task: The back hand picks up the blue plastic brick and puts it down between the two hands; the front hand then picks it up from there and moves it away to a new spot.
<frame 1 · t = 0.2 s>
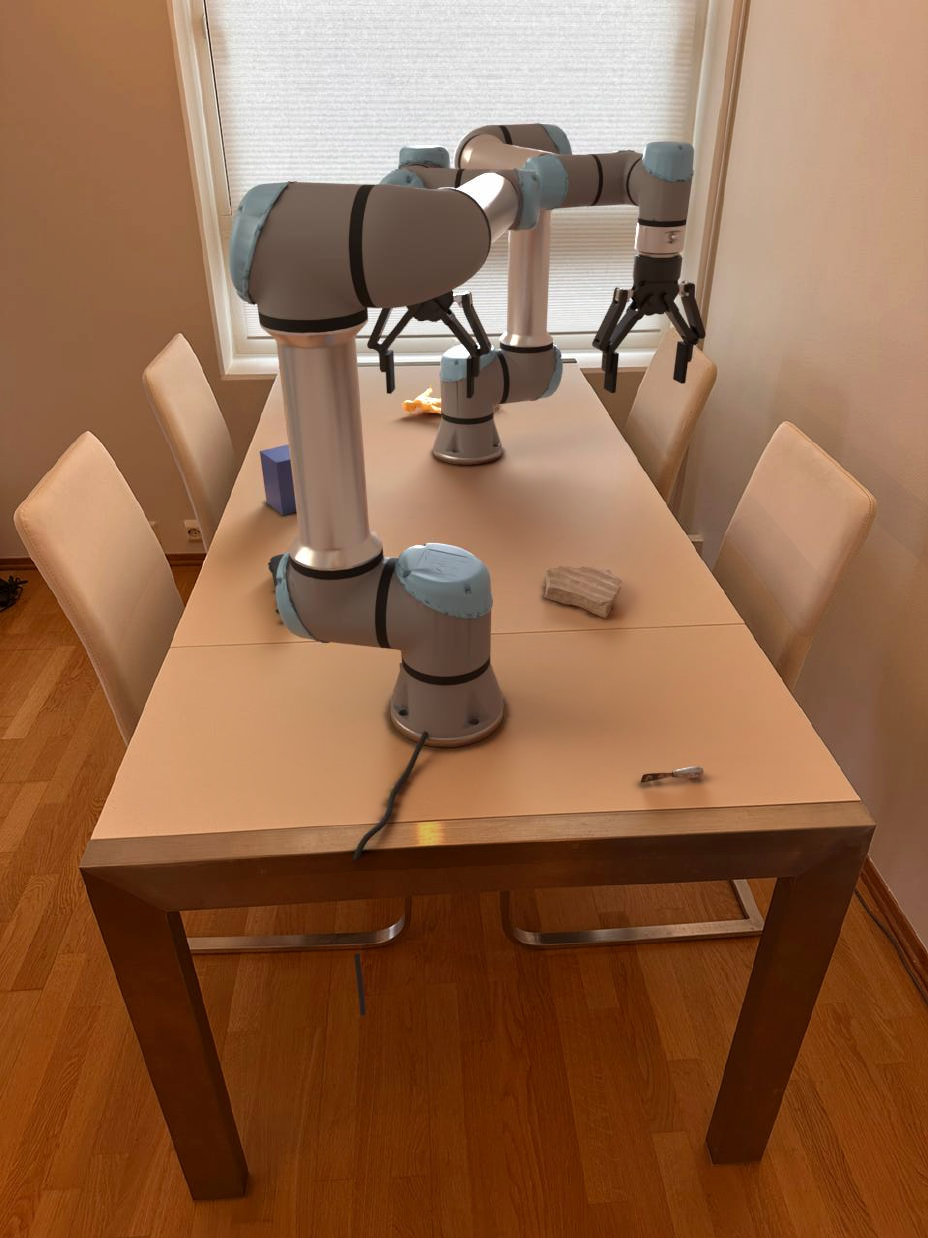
front hand: (430, 393, 149), 28 cm above the table, tool pointing down, fingers open, 13 cm apart
back hand: (644, 386, 152), 28 cm above the table, tool pointing down, fingers open, 13 cm apart
handgun: (308, 591, 149), on the table
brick: (293, 503, 178), on the table
human figure: (450, 410, 226), on the table
stone: (582, 598, 147), on the table
putty knife: (671, 781, 109), on the table
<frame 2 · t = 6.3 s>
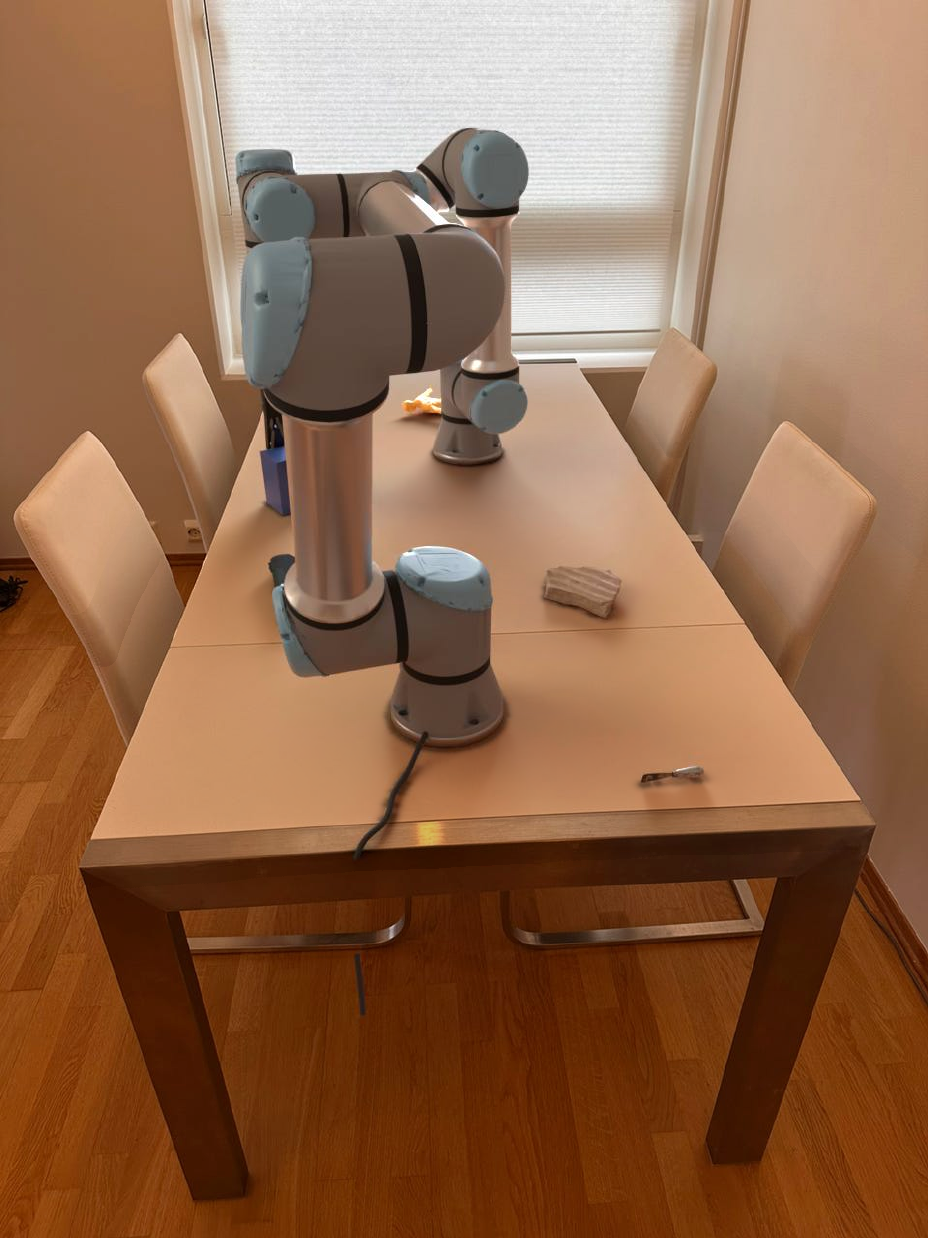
front hand: (294, 429, 132), 29 cm above the table, tool pointing down, fingers open, 13 cm apart
back hand: (292, 493, 177), 2 cm above the table, tool pointing down, fingers closed on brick, 7 cm apart
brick: (293, 503, 178), on the table, touching back hand
everything else where it was.
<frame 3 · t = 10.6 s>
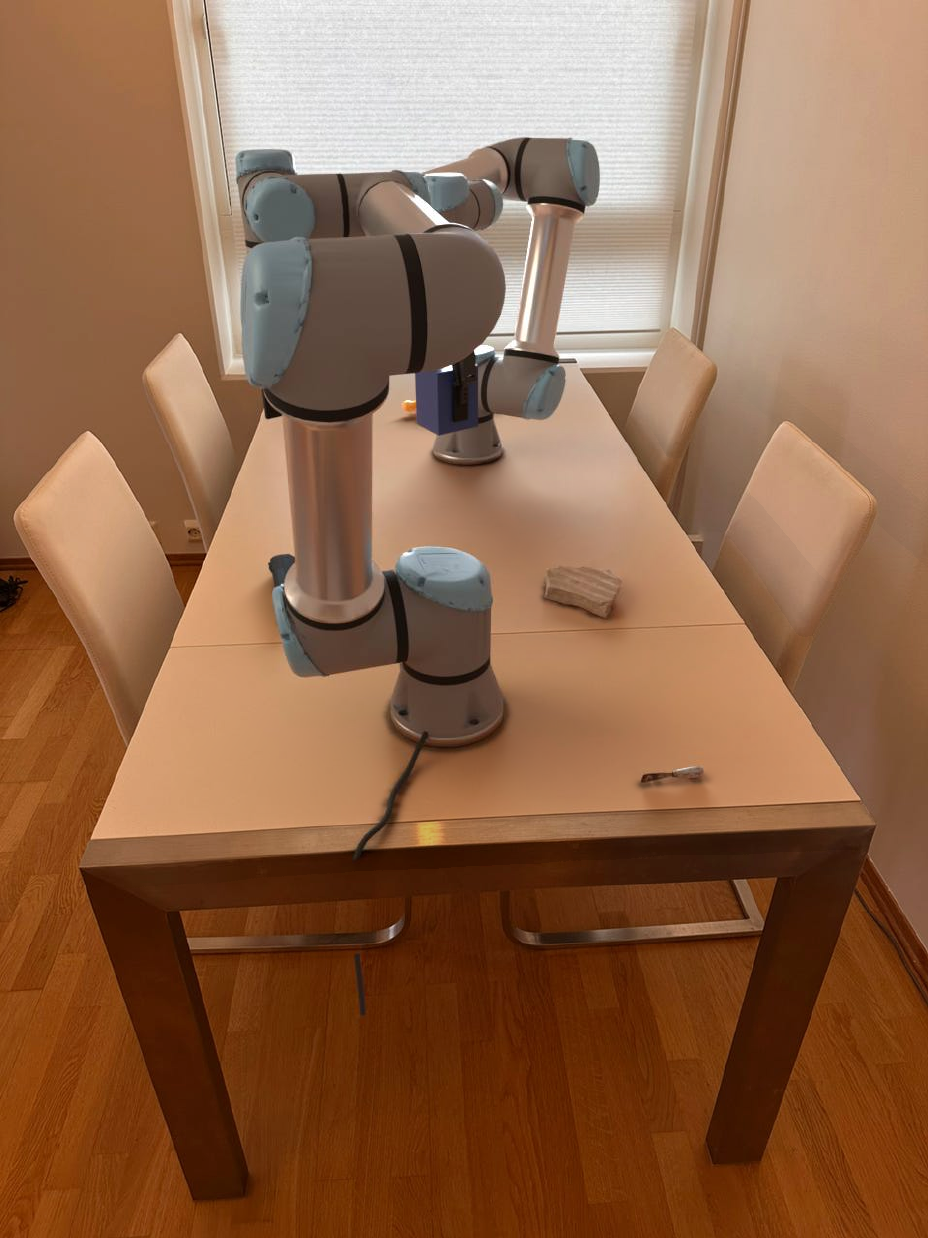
front hand: (294, 429, 132), 29 cm above the table, tool pointing down, fingers open, 13 cm apart
back hand: (447, 413, 159), 22 cm above the table, tool pointing down, fingers closed on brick, 7 cm apart
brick: (447, 425, 160), point 20 cm above the table, touching back hand
everything else where it was.
when the back hand's fingers open (4 cm above the table, at t = 14.9 s): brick drops 2 cm, on the table.
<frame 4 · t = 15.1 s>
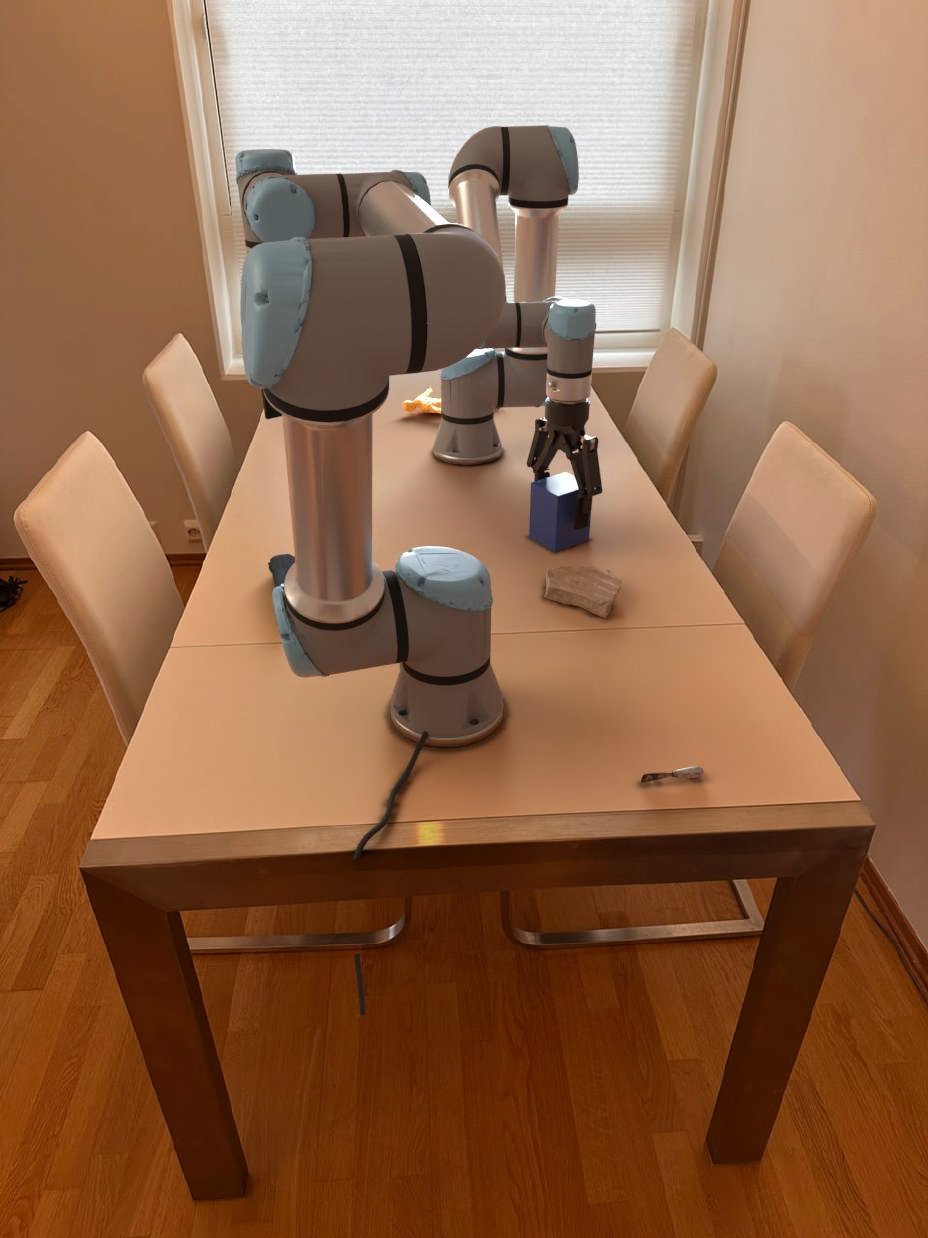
front hand: (294, 429, 132), 29 cm above the table, tool pointing down, fingers open, 13 cm apart
back hand: (560, 516, 162), 4 cm above the table, tool pointing down, fingers open, 10 cm apart
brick: (558, 538, 165), on the table
everything else where it was.
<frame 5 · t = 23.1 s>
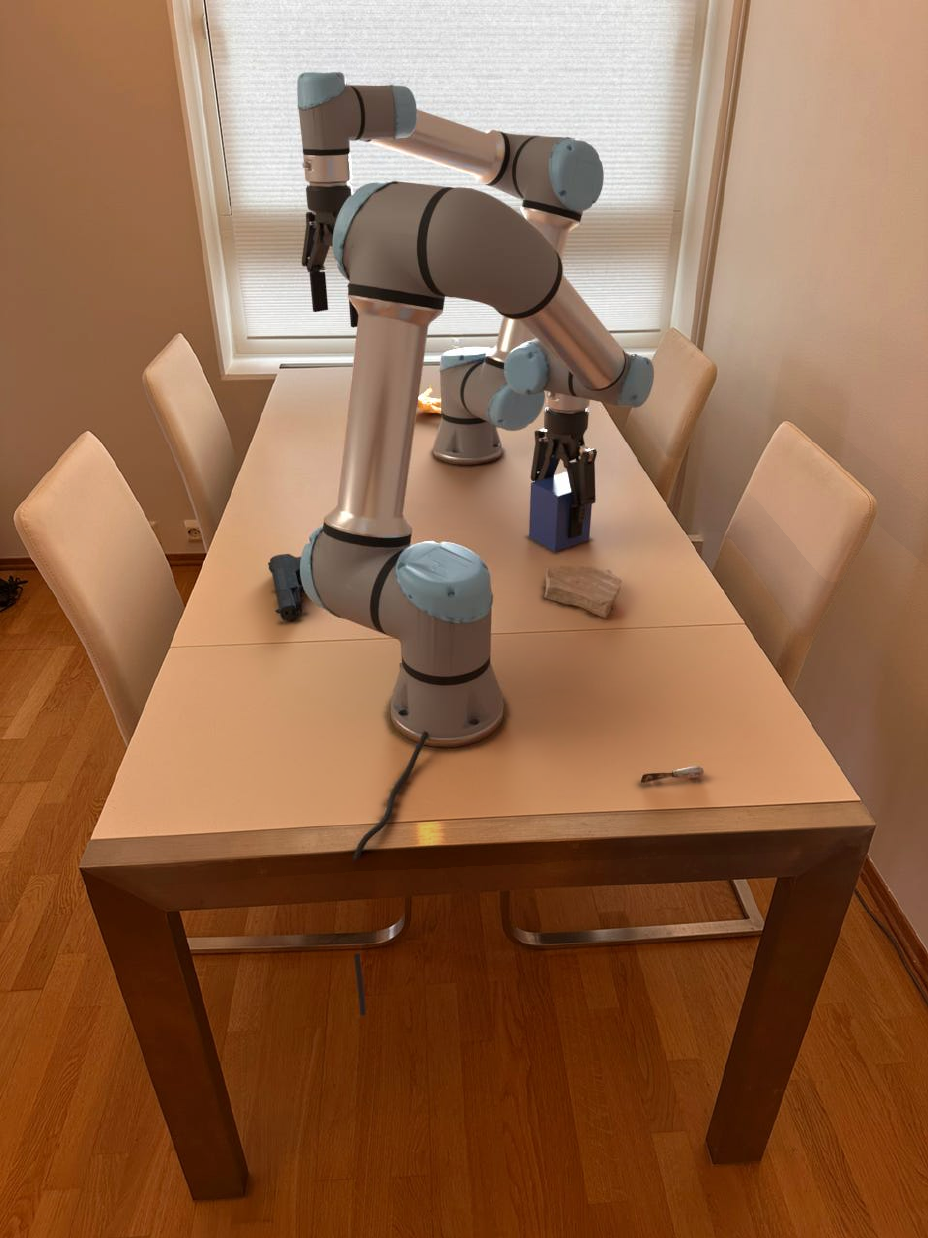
front hand: (559, 527, 164), 2 cm above the table, tool pointing down, fingers closed on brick, 7 cm apart
back hand: (339, 318, 156), 37 cm above the table, tool pointing down, fingers open, 13 cm apart
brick: (558, 538, 165), on the table, touching front hand
everything else where it was.
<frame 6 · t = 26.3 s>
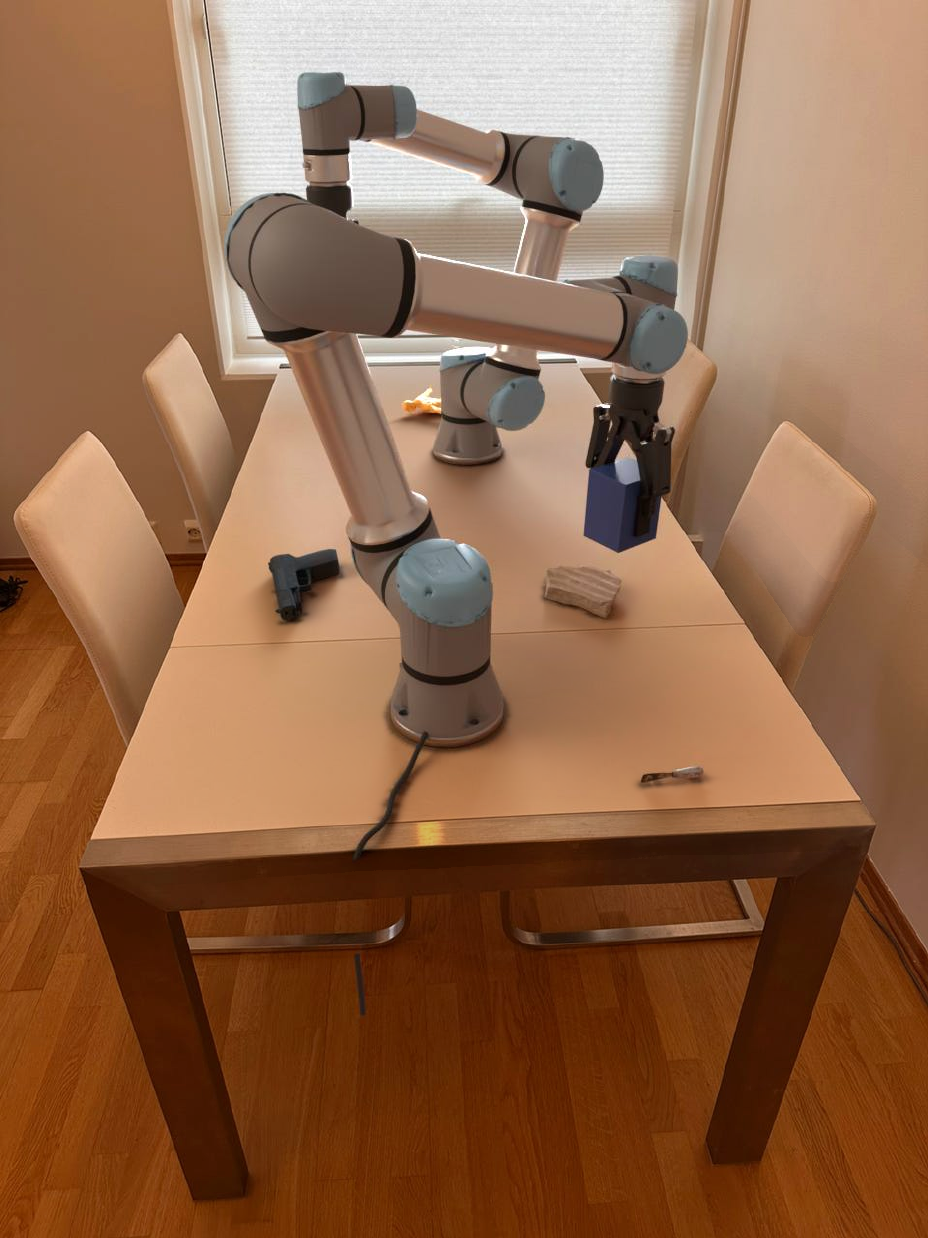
front hand: (621, 524, 136), 15 cm above the table, tool pointing down, fingers closed on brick, 7 cm apart
back hand: (339, 318, 156), 37 cm above the table, tool pointing down, fingers open, 13 cm apart
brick: (619, 537, 137), point 13 cm above the table, touching front hand
everything else where it was.
when the front hand's fingers open (4 cm above the table, at t = 29.5 s): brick drops 2 cm, on the table.
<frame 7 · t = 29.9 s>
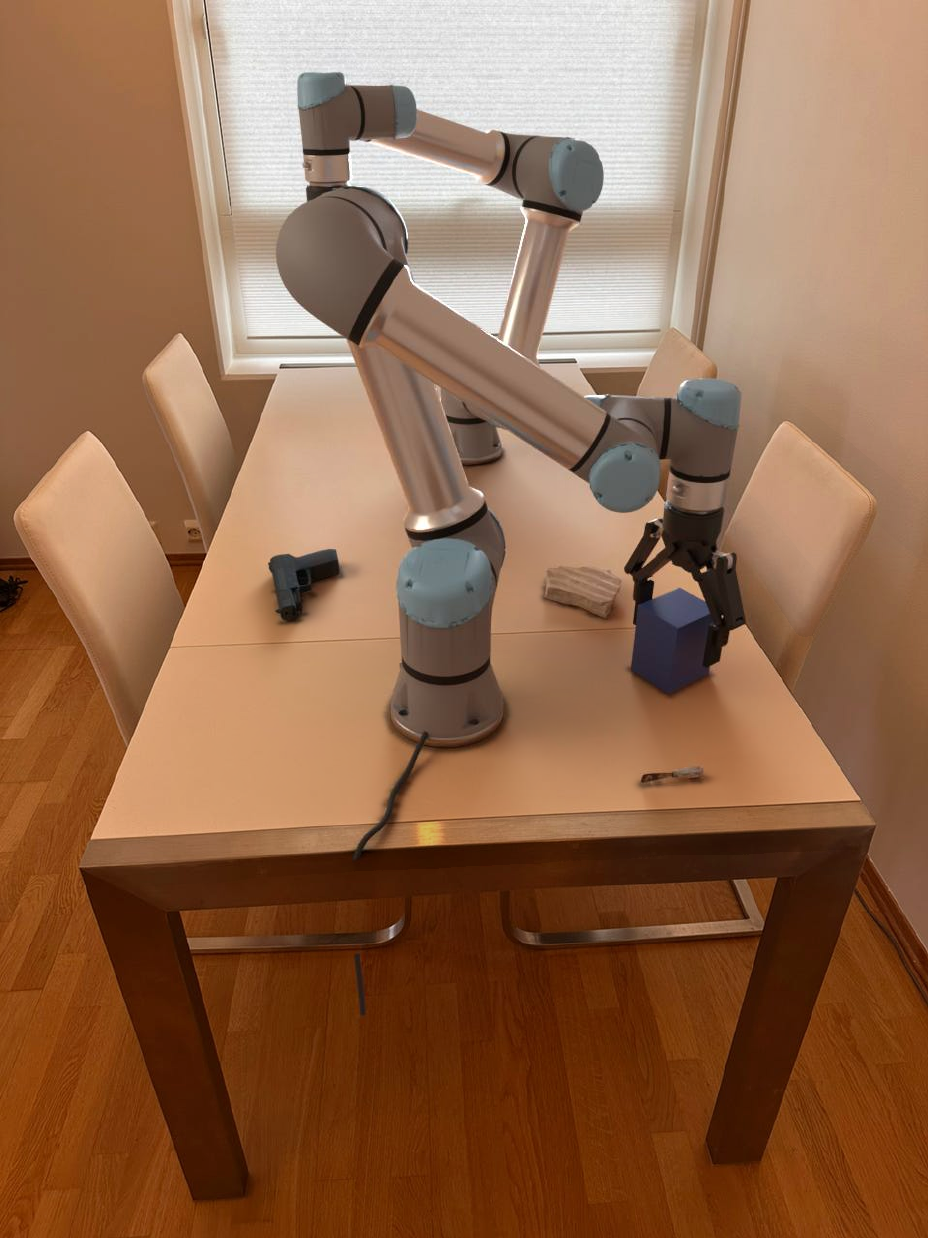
front hand: (674, 642, 126), 5 cm above the table, tool pointing down, fingers open, 12 cm apart
back hand: (339, 318, 156), 37 cm above the table, tool pointing down, fingers open, 13 cm apart
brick: (669, 671, 129), on the table
everything else where it was.
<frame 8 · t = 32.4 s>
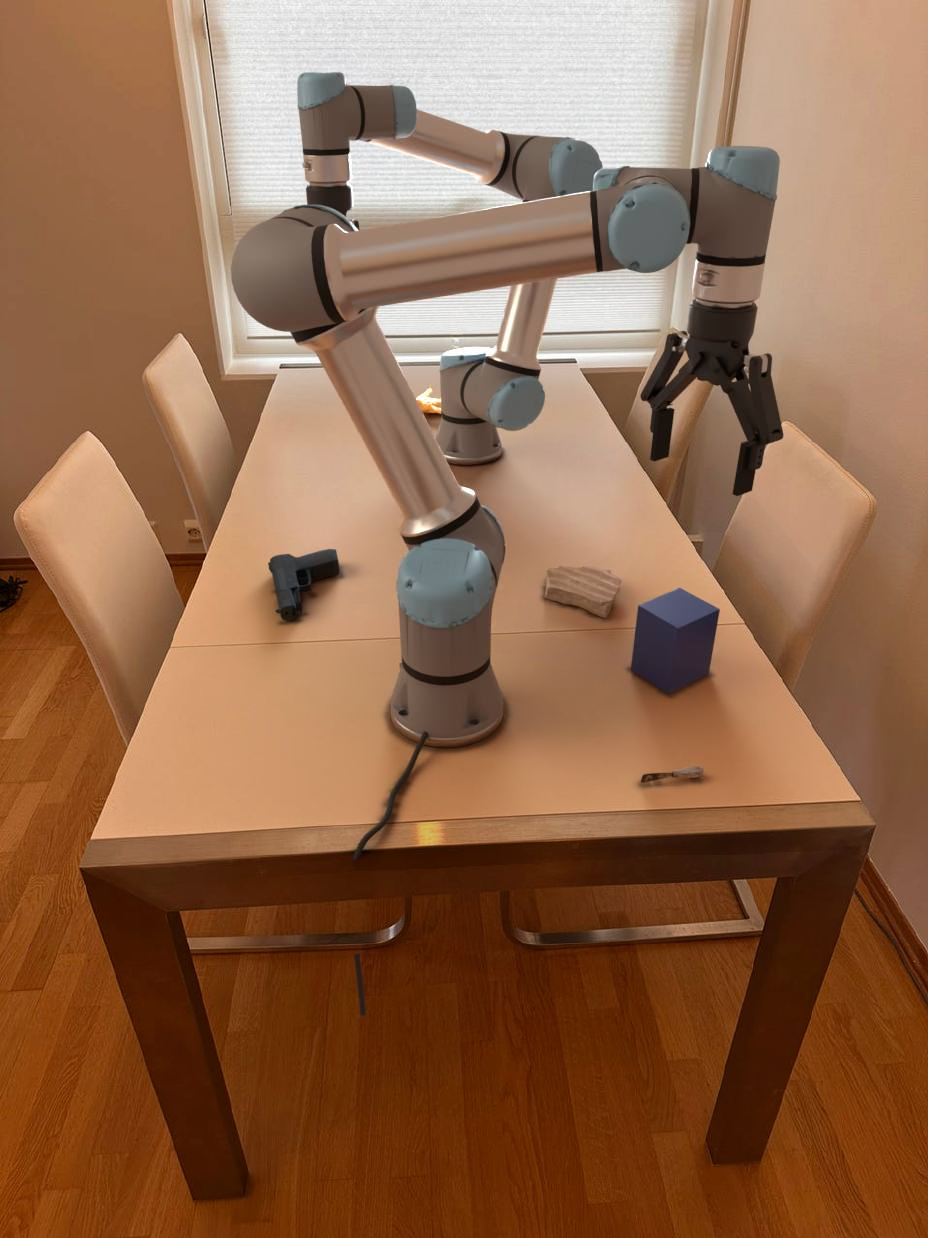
front hand: (698, 475, 113), 30 cm above the table, tool pointing down, fingers open, 13 cm apart
back hand: (339, 318, 156), 37 cm above the table, tool pointing down, fingers open, 13 cm apart
nothing on the table moved.
at the end: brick inside the target area (0.1 cm from its centre), on the table; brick tilted 0°; the two hands never held the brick at the same time; the front hand is holding nothing; the back hand is holding nothing; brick at rest at the end (0.0 cm/s) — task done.
